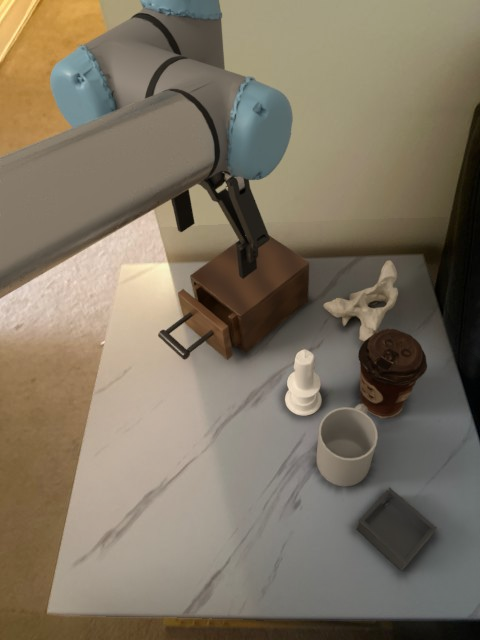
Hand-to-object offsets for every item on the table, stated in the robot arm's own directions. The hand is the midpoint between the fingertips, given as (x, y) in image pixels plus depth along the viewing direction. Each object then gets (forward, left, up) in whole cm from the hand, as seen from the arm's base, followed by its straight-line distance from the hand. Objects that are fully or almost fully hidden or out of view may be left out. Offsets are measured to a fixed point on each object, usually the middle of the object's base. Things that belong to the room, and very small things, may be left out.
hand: (216, 248), depth 82 cm
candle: (-3, -20, -16) cm, 26 cm away
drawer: (-3, -2, -14) cm, 15 cm away
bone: (+15, -16, -16) cm, 27 cm away
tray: (-9, -41, -15) cm, 45 cm away
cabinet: (+4, -2, -15) cm, 16 cm away
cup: (-5, -30, -16) cm, 35 cm away
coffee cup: (+5, -28, -16) cm, 33 cm away
